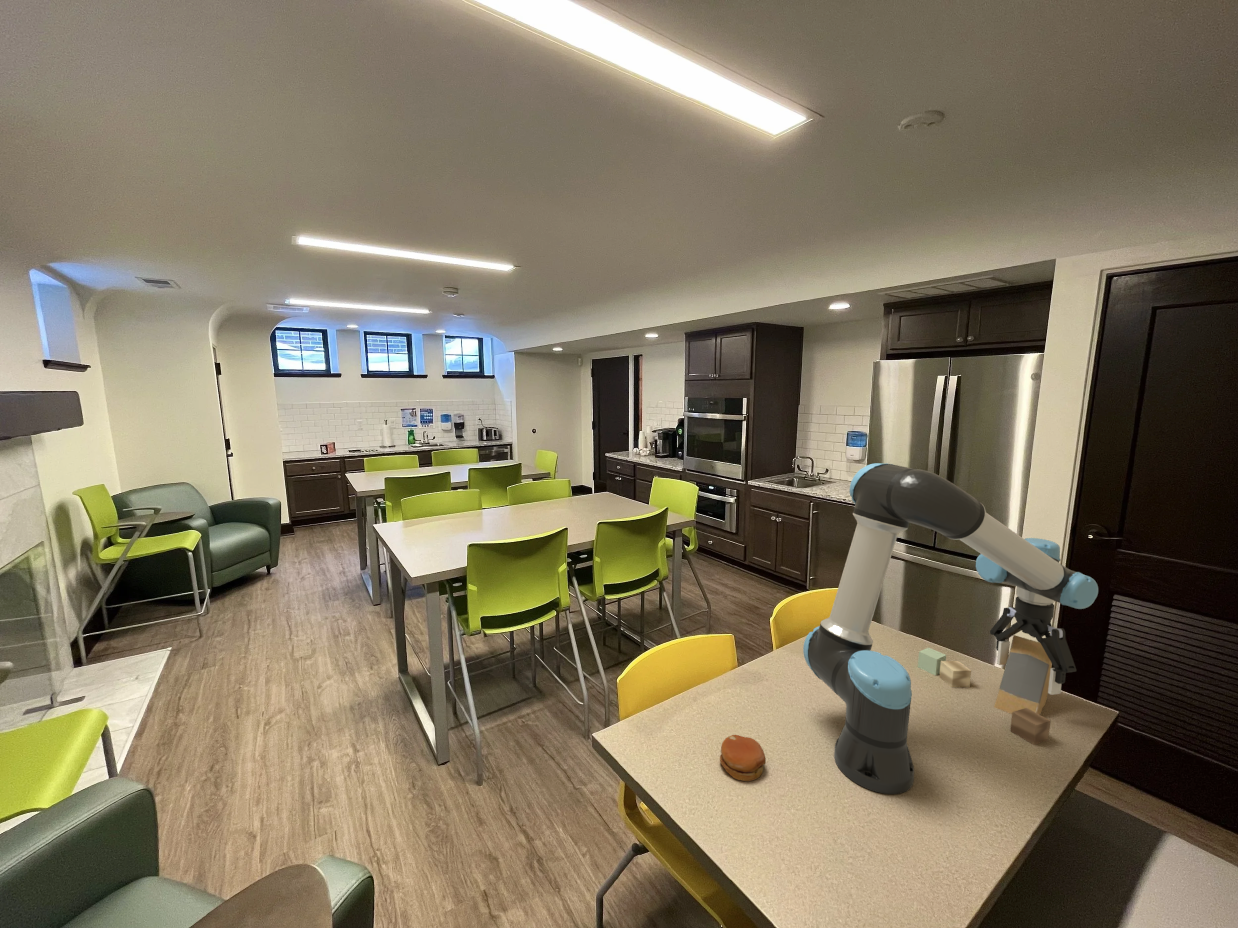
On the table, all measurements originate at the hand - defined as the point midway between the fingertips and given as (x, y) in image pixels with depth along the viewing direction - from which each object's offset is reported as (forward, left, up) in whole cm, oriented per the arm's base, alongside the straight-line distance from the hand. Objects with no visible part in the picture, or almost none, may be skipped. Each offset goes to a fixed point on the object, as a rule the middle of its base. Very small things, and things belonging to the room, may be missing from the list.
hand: (1026, 677), depth 126 cm
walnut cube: (-11, -11, -7) cm, 17 cm away
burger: (-82, -9, -7) cm, 83 cm away
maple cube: (-10, +11, -7) cm, 17 cm away
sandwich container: (-1, 0, -7) cm, 7 cm away
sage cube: (-11, +18, -7) cm, 22 cm away
